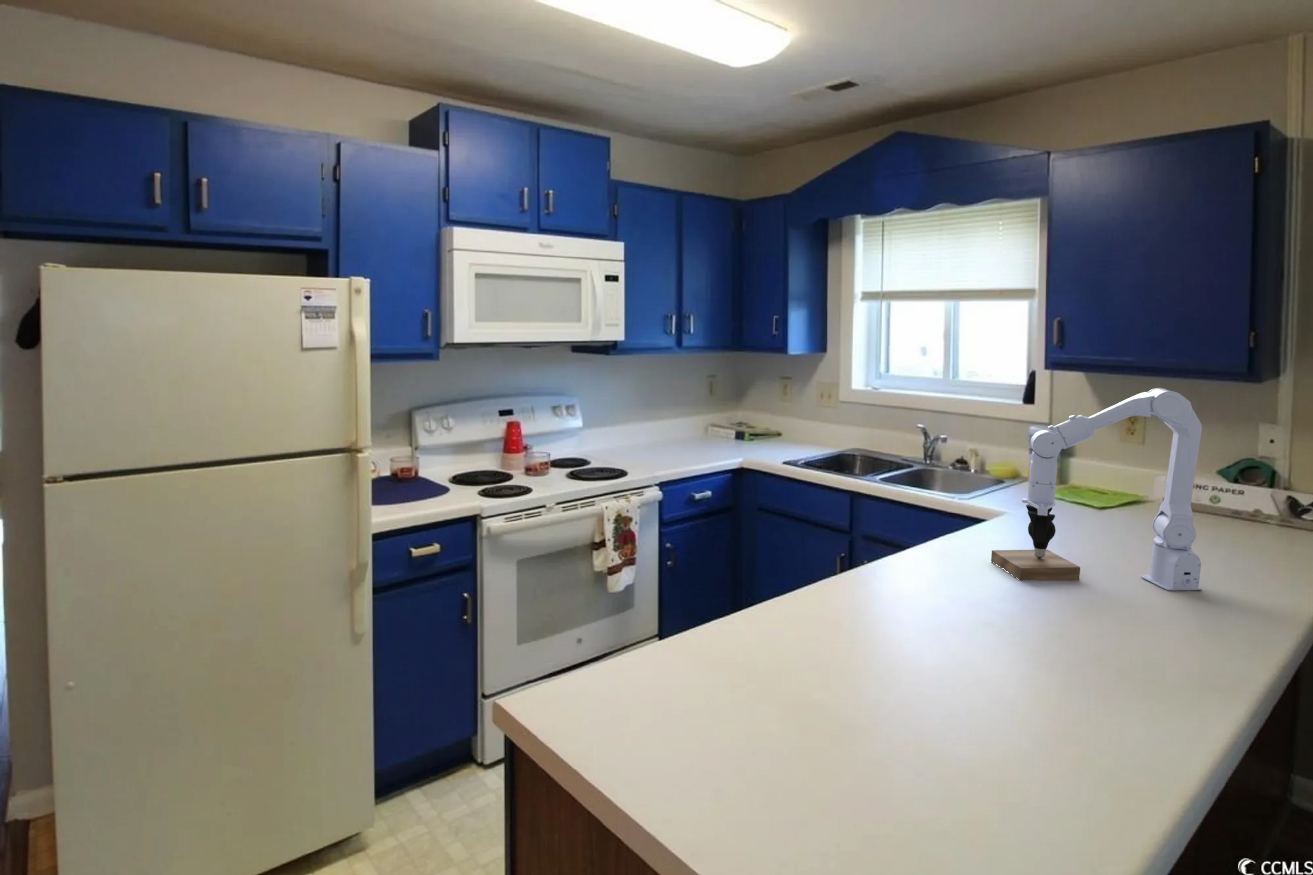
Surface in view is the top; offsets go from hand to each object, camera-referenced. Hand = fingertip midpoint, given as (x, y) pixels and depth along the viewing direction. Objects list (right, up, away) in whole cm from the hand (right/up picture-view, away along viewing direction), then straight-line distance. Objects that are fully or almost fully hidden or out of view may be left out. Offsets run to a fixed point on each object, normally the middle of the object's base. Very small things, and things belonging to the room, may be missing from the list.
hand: (1037, 538), depth 188 cm
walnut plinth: (0, -8, +1) cm, 8 cm away
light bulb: (+1, -5, +1) cm, 5 cm away
